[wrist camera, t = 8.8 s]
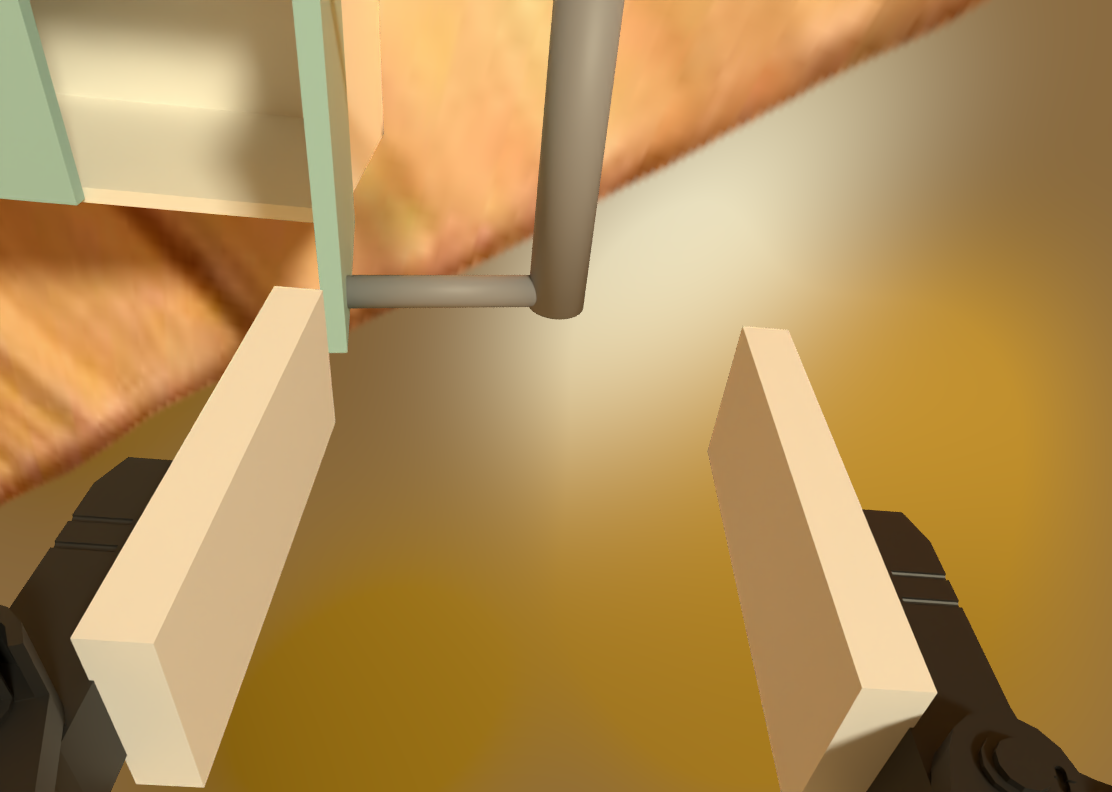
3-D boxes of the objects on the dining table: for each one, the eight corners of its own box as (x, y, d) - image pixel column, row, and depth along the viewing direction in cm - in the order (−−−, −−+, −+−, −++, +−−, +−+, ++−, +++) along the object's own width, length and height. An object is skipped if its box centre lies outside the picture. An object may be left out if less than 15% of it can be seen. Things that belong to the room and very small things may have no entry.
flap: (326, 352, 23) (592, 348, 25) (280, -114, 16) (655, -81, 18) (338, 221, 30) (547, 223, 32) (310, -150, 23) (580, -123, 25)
